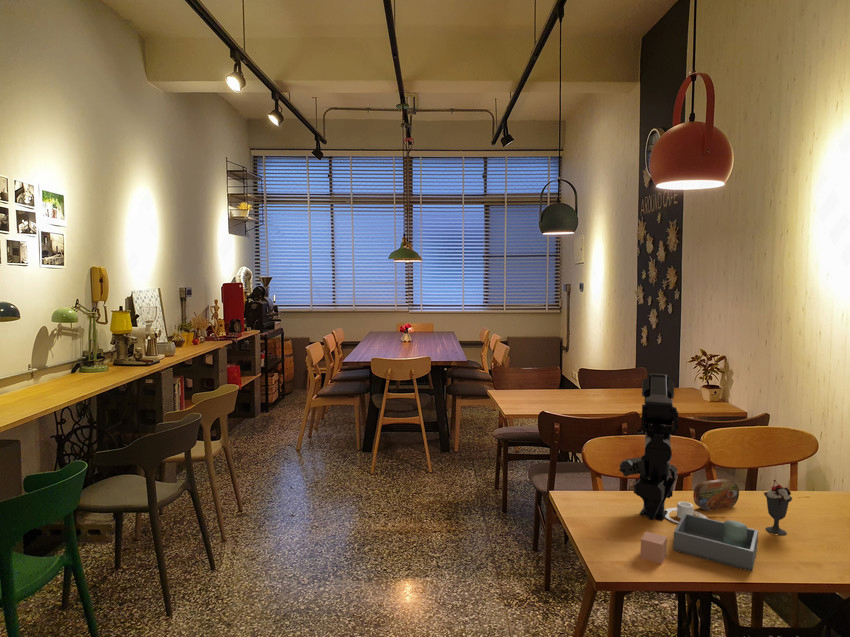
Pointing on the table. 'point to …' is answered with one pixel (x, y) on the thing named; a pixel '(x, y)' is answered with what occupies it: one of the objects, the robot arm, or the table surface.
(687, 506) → the candle holder
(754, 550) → the tote
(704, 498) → the tin
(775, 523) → the sundae
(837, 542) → the table surface
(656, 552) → the cube
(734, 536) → the cylinder
